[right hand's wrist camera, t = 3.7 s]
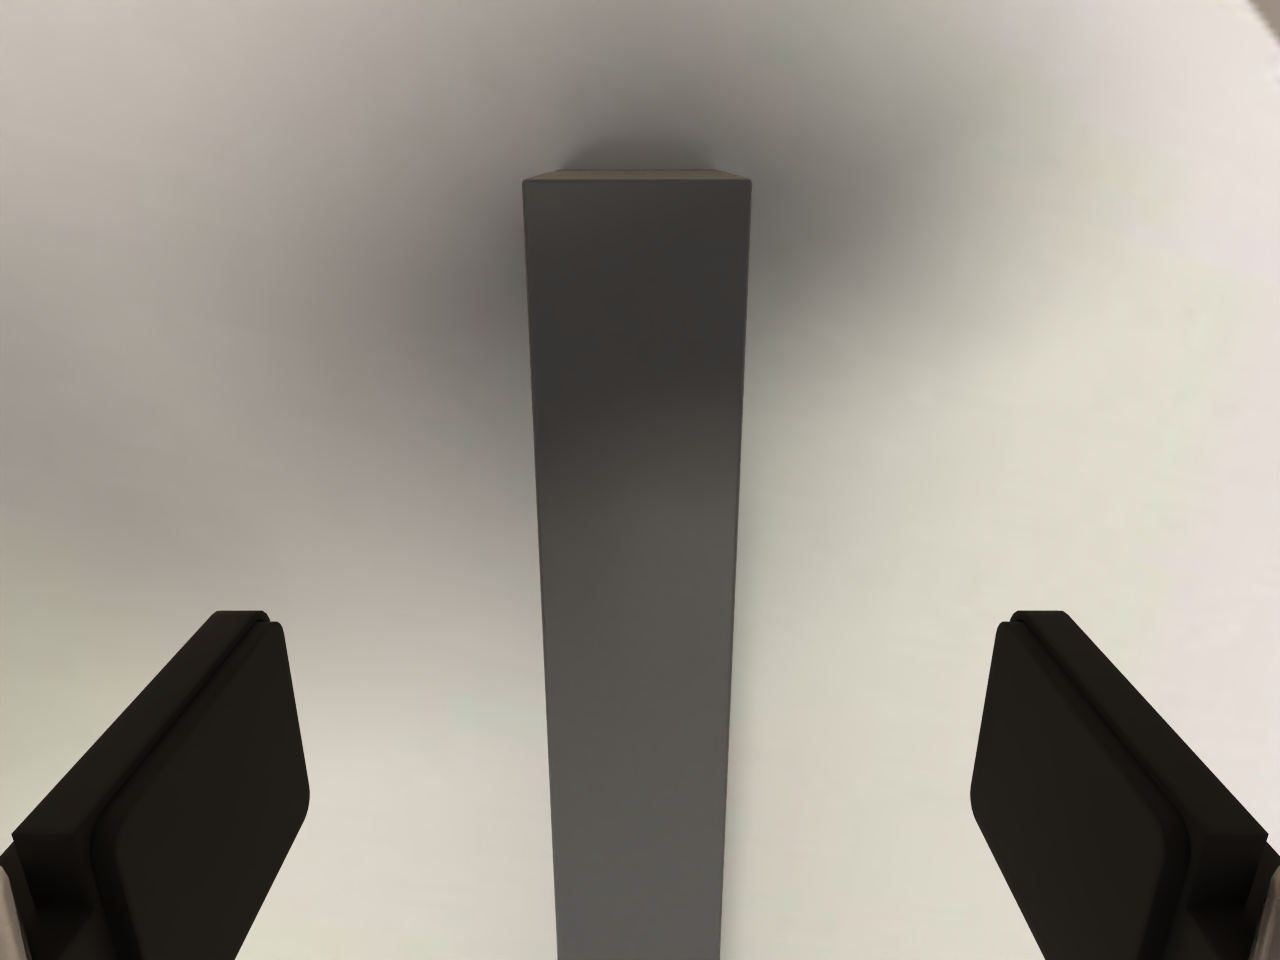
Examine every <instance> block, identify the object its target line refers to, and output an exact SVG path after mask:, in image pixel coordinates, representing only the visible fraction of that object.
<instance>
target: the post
mask: <svg viewBox="0 0 1280 960" xmlns="http://www.w3.org/2000/svg"><path fill="white" fill-rule="evenodd" d="M522 192H523V214H524V235H525V257H526V279H527V301H528V322H529V344H530V366H531V388H532V409H533V431H534V453H535V475H536V497H537V518H538V540H539V562H540V584H541V605H542V627H543V649H544V671H545V692H546V714H547V736H548V758H549V779H550V801H551V823H552V845H553V866H554V888H555V910H556V932H557V954H558V960H720V939H721V915H722V891H723V867H724V843H725V819H726V795H727V771H728V747H729V723H730V700H731V676H732V652H733V628H734V604H735V580H736V556H737V532H738V508H739V484H740V461H741V437H742V413H743V389H744V365H745V341H746V317H747V293H748V269H749V245H750V222H751V198H752V182H751V180H750V179H747V178H743V177H740V176H736V175H732V174H728V173H725V172H721V171H717V170H557V171H554V172H550V173H546V174H543V175H539V176H535V177H532V178H528V179H525V180H523V183H522Z"/></svg>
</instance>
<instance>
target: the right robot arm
mask: <svg viewBox="0 0 1280 960" xmlns="http://www.w3.org/2000/svg"><path fill="white" fill-rule="evenodd" d="M309 798H310V790H309V782H308V776H307V770H306V764H305V758H304V752H303V746H302V740H301V734H300V728H299V722H298V716H297V710H296V703H295V697H294V691H293V685H292V679H291V673H290V667H289V661H288V655H287V649H286V643H285V637H284V632H283V628H282V626H281V624H280V623H278V622H270V619H269V617H268V615H267V614H266V613H265V612H264V611H216V612H215V613H214V614H212V615H211V616H210V618H209V619H208V620H207V621H206V622H205V623H204V624H203V625H202V626H201V627H200V628H199V630H198V631H197V632H196V633H195V634H194V635H193V636H192V637H191V638H190V639H189V640H188V642H187V643H186V644H185V645H184V646H183V647H182V648H181V649H180V650H179V651H178V652H177V654H176V655H175V656H174V657H173V658H172V659H171V660H170V661H169V662H168V663H167V665H166V666H165V667H164V668H163V669H162V670H161V671H160V672H159V673H158V674H157V675H156V677H155V678H154V679H153V680H152V681H151V682H150V683H149V684H148V685H147V686H146V687H145V689H144V690H143V691H142V692H141V693H140V694H139V695H138V696H137V697H136V698H135V700H134V701H133V702H132V703H131V704H130V705H129V706H128V707H127V708H126V709H125V710H124V712H123V713H122V714H121V715H120V716H119V717H118V718H117V719H116V720H115V721H114V722H113V724H112V725H111V726H110V727H109V728H108V729H107V730H106V731H105V732H104V733H103V734H102V736H101V737H100V738H99V739H98V740H97V741H96V742H95V743H94V744H93V745H92V747H91V748H90V749H89V750H88V751H87V752H86V753H85V754H84V755H83V756H82V757H81V759H80V760H79V761H78V762H77V763H76V764H75V765H74V766H73V767H72V768H71V769H70V771H69V772H68V773H67V774H66V775H65V776H64V777H63V778H62V779H61V780H60V782H59V783H58V784H57V785H56V786H55V787H54V788H53V789H52V790H51V791H50V792H49V794H48V795H47V796H46V797H45V798H44V799H43V800H42V801H41V802H40V803H39V804H38V806H37V807H36V808H35V809H34V810H33V811H32V812H31V813H30V814H29V815H28V816H27V818H26V819H25V820H24V821H23V822H22V823H21V824H20V825H19V826H18V827H17V829H16V830H15V831H14V832H13V833H12V837H13V843H12V844H11V845H10V846H9V847H8V848H7V849H6V850H5V851H4V853H3V854H2V855H1V856H0V960H235V958H236V956H237V954H238V952H239V950H240V948H241V946H242V944H243V942H244V940H245V938H246V936H247V934H248V932H249V930H250V928H251V926H252V924H253V922H254V920H255V918H256V916H257V914H258V912H259V910H260V908H261V906H262V904H263V902H264V900H265V898H266V896H267V894H268V892H269V890H270V888H271V886H272V884H273V882H274V880H275V878H276V876H277V874H278V872H279V870H280V868H281V866H282V864H283V862H284V860H285V858H286V856H287V854H288V852H289V850H290V848H291V846H292V844H293V842H294V840H295V838H296V836H297V834H298V832H299V830H300V828H301V826H302V824H303V822H304V819H305V817H306V814H307V811H308V806H309ZM970 798H971V806H972V811H973V814H974V817H975V819H976V822H977V824H978V826H979V828H980V830H981V832H982V834H983V836H984V838H985V840H986V842H987V844H988V846H989V848H990V850H991V852H992V854H993V856H994V858H995V860H996V862H997V864H998V866H999V868H1000V870H1001V872H1002V874H1003V876H1004V878H1005V880H1006V882H1007V884H1008V886H1009V888H1010V890H1011V892H1012V894H1013V896H1014V898H1015V900H1016V902H1017V904H1018V906H1019V908H1020V910H1021V912H1022V914H1023V916H1024V918H1025V920H1026V922H1027V924H1028V926H1029V928H1030V930H1031V932H1032V934H1033V936H1034V938H1035V940H1036V942H1037V944H1038V946H1039V948H1040V950H1041V952H1042V954H1043V956H1044V958H1045V960H1280V856H1279V855H1278V854H1277V853H1276V851H1275V850H1274V849H1273V848H1272V847H1271V846H1270V845H1269V844H1268V843H1267V837H1268V833H1267V832H1266V831H1265V830H1264V829H1263V827H1262V826H1261V825H1260V824H1259V823H1258V822H1257V821H1256V820H1255V819H1254V818H1253V816H1252V815H1251V814H1250V813H1249V812H1248V811H1247V810H1246V809H1245V808H1244V807H1243V806H1242V804H1241V803H1240V802H1239V801H1238V800H1237V799H1236V798H1235V797H1234V796H1233V795H1232V794H1231V792H1230V791H1229V790H1228V789H1227V788H1226V787H1225V786H1224V785H1223V784H1222V783H1221V782H1220V780H1219V779H1218V778H1217V777H1216V776H1215V775H1214V774H1213V773H1212V772H1211V771H1210V769H1209V768H1208V767H1207V766H1206V765H1205V764H1204V763H1203V762H1202V761H1201V760H1200V759H1199V757H1198V756H1197V755H1196V754H1195V753H1194V752H1193V751H1192V750H1191V749H1190V748H1189V747H1188V745H1187V744H1186V743H1185V742H1184V741H1183V740H1182V739H1181V738H1180V737H1179V736H1178V734H1177V733H1176V732H1175V731H1174V730H1173V729H1172V728H1171V727H1170V726H1169V725H1168V724H1167V722H1166V721H1165V720H1164V719H1163V718H1162V717H1161V716H1160V715H1159V714H1158V713H1157V712H1156V710H1155V709H1154V708H1153V707H1152V706H1151V705H1150V704H1149V703H1148V702H1147V701H1146V700H1145V698H1144V697H1143V696H1142V695H1141V694H1140V693H1139V692H1138V691H1137V690H1136V689H1135V687H1134V686H1133V685H1132V684H1131V683H1130V682H1129V681H1128V680H1127V679H1126V678H1125V677H1124V675H1123V674H1122V673H1121V672H1120V671H1119V670H1118V669H1117V668H1116V667H1115V666H1114V665H1113V663H1112V662H1111V661H1110V660H1109V659H1108V658H1107V657H1106V656H1105V655H1104V654H1103V652H1102V651H1101V650H1100V649H1099V648H1098V647H1097V646H1096V645H1095V644H1094V643H1093V642H1092V640H1091V639H1090V638H1089V637H1088V636H1087V635H1086V634H1085V633H1084V632H1083V631H1082V630H1081V628H1080V627H1079V626H1078V625H1077V624H1076V623H1075V622H1074V621H1073V620H1072V619H1071V618H1070V616H1069V615H1068V614H1066V613H1065V612H1064V611H1016V612H1015V613H1014V614H1013V615H1012V617H1011V619H1010V622H1002V623H1000V624H999V626H998V628H997V632H996V637H995V643H994V649H993V655H992V661H991V667H990V673H989V679H988V685H987V691H986V697H985V703H984V710H983V716H982V722H981V728H980V734H979V740H978V746H977V752H976V758H975V764H974V770H973V776H972V782H971V790H970Z"/></svg>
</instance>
